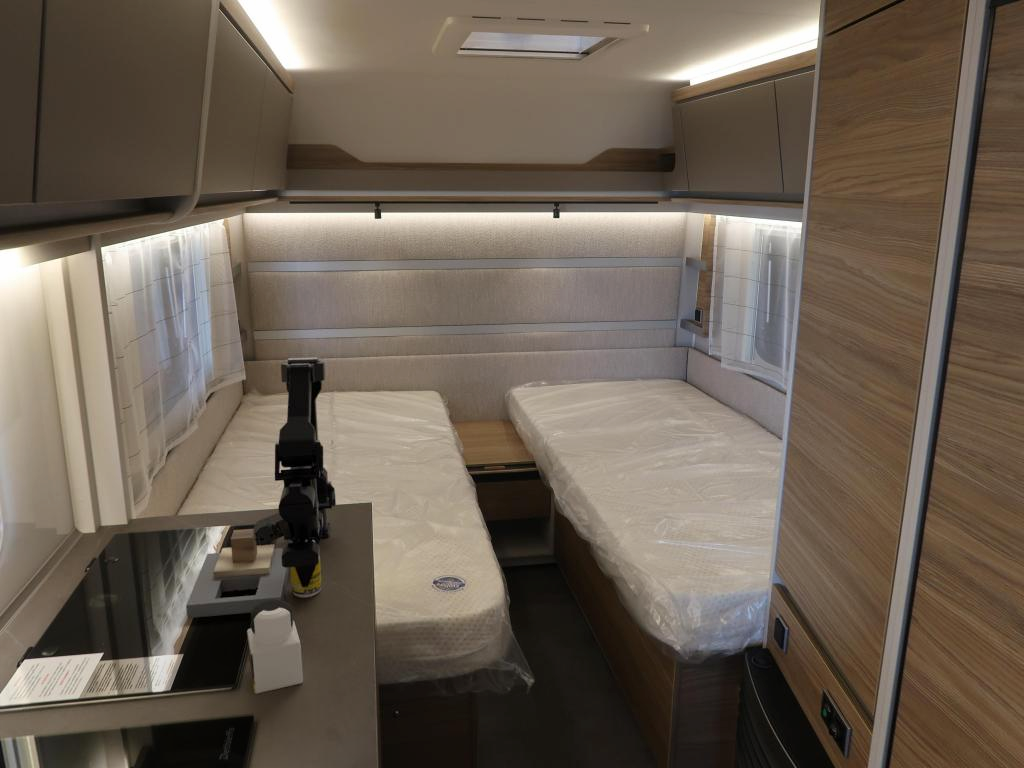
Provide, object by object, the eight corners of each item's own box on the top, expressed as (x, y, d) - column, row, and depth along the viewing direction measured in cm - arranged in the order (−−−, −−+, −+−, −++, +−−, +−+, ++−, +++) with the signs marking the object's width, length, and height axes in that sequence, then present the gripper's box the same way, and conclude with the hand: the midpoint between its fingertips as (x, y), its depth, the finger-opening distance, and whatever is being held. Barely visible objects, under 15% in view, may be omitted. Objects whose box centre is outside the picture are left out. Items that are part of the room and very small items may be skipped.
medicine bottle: (250, 668, 122) (244, 600, 119) (296, 658, 125) (291, 591, 122) (254, 695, 116) (248, 623, 113) (303, 683, 119) (298, 613, 116)
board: (208, 565, 155) (207, 553, 155) (291, 558, 158) (290, 547, 158) (187, 618, 136) (186, 605, 136) (281, 609, 139) (280, 597, 139)
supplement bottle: (304, 601, 142) (301, 552, 140) (286, 592, 145) (282, 544, 143) (327, 589, 146) (325, 542, 144) (309, 581, 149) (306, 534, 147)
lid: (222, 553, 155) (220, 524, 153) (274, 549, 157) (272, 521, 155) (213, 577, 145) (211, 547, 144) (269, 573, 147) (267, 543, 146)
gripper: (261, 485, 149) (266, 559, 153) (248, 525, 131) (254, 608, 135) (321, 481, 151) (325, 555, 155) (316, 521, 133) (320, 603, 137)
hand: (306, 578), depth 145 cm, fingers closed on supplement bottle, 5 cm apart
